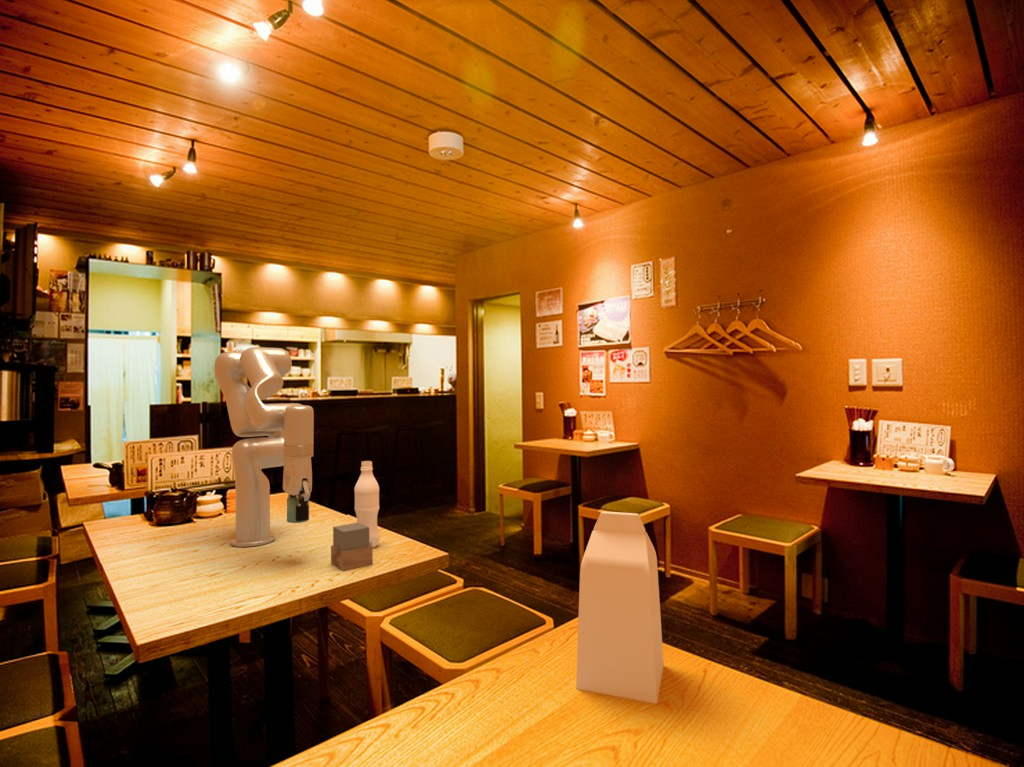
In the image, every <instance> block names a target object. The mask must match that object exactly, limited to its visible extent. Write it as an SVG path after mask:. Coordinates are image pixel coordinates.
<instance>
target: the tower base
mask: <svg viewBox="0 0 1024 767" xmlns="http://www.w3.org/2000/svg"><path fill="white" fill-rule="evenodd" d="M373 559H374V558H373V548H372V546H371V545H369V547H364V548H359V549H354V550H349V551H342V550H340V549H338V548H337V547H335V546H333V544H332V545H330V564H331V565H332V566H334V567H335V568H337V569H338V570H341V571H342V572H347V571H350V570H354V569H355V570H356V569H360V568H364V567H368V566H372V565H373V564H374V563H373V561H374V560H373Z"/></svg>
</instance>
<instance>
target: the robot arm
mask: <svg viewBox="0 0 1024 767" xmlns="http://www.w3.org/2000/svg"><path fill="white" fill-rule="evenodd" d="M292 362H293V361H292V357H291V355H290V354H289V352H288V351H287V350H285V348H279V347H264V346H254V347H249V348H246V349H245V350H243V351H237V350H235V351H234V350H233V351H226V352H223V353H220V354H219V355H218V356H217V357H215V361H214V374H215V380H216V382H217V385H218V386H219V389H220V391H221V393H222V394H223V397H224V398H225V402H226V408H227V412H228V417H229V421H230V427H231V430H232V432H233V433H234V435H235V436H237V437H241V438H244V439H241V440H238V441H237V442H235V444H233V445H232V449H231V458H232V463H233V464H232V465H233V471H234V481H235V484H234V485H235V536H234V537H232V538H231V539H230V540H229V545H230V546H232V547H238V548H242V547H243V548H245V547H247V548H248V547H256V546H257V547H258V546H262V545H267V544H269V543H272V542H274V541H275V540H276V538H277V537H276V534H275V533H272V532H271V498H270V496H271V491H270V490H271V486H270V481H269V479H268V477H267V476H266V475H265V474H264V472H263V471H262V469H268V468H277V467H283V474H282V490H283V491H284V492H285V493H286V494H288V495H287V498H289V497H293V496H296V499H297V506H296V521H304V520H308V516H309V517H310V498H311V492H312V489H313V469H312V457H314V435H315V434H314V433H315V432H314V431H315V430H314V427H315V425H314V423H315V422H314V420H315V419H314V416H315V413H314V408H313V407H312V406H311V405H307V404H306V405H303V404H302V403H299V402H298V403H297V402H296V403H295V402H290V403H284V402H282V403H281V402H280V403H264V402H263V400H266V399H268V398H271V397H273V396H275V395H277V393H279V392H280V390H282V388H283V386H284V379H283V376H285V375H287V374H288V373H290V372H291V369H292V365H293V363H292ZM242 379H248V382H249V383H250V385H251V387H250V386H249V385H248V384H247V383H245V382H244V381H243V380H242ZM248 437H249V438H248ZM301 496H303V497H301ZM300 497H301V500H300ZM308 521H309V520H308Z"/></svg>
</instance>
